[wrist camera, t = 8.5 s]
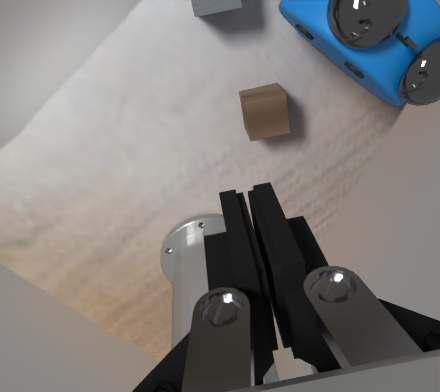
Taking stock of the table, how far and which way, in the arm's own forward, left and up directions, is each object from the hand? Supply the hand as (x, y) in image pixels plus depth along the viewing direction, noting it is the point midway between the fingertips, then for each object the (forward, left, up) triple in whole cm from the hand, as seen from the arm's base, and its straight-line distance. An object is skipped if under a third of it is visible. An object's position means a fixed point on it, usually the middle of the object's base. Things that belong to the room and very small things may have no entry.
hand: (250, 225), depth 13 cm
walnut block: (-6, -5, -29) cm, 30 cm away
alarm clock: (+1, -13, -29) cm, 32 cm away
